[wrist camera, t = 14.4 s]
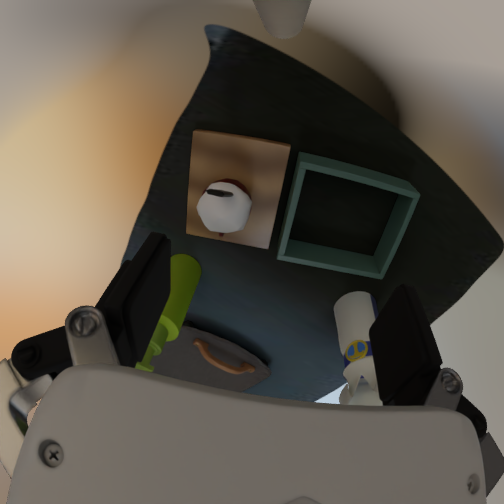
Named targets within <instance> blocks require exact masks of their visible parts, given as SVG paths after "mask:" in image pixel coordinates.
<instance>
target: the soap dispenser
mask: <svg viewBox="0 0 504 504" xmlns="http://www.w3.org/2000/svg"><path fill="white" fill-rule="evenodd" d="M201 272H202V271H201V267H200V264H199V263H198V262H197V261H196V260H195V259H194V258H193V257H191V256H189V255H186V254H176V255H174V256H172V257H171V291H170V296H169V299H168V301H167V303H166V305H165V308H164V310H163V312H162V315H161V317H160V319H159V322H158V324H157V326H156V329H155V331H154V333H153V336H152V338H151V341H150V343H149V345H148V348H147V350H146V353H145V355H144V358H143V360H142V362H141V363H140V362H137V364H136V366H135V369H139V370H143V371H148V372H152V371H153V370H154V367H153V366H151V365H149V364H150V362H151V359H152V357H153V355H155V356H156V355H159V354H161V352H162V350H163V347H164V344H165V342H166V341H172V340H175V339H176V338H177V337H178V334H179V332H180V329H181V326H182V324H183V321H184V318H185V315H186V313H187V310H188V308H189V305H190V302H191V300H192V297H193V294H194V292H195V289H196V287H197V284H198V281H199V279H200V276H201Z"/></svg>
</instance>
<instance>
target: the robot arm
mask: <svg viewBox="0 0 504 504" xmlns="http://www.w3.org/2000/svg"><path fill="white" fill-rule="evenodd" d="M170 291H171V241H170V239H167V236H166V235H165V234H161V233H156V232H151V233H150V235H149V236H148V238H147V239H146V240H145V242H144V243H143V245H142V246H141V248H140V249H139V251H138V252H137V253H136V255H135V256H134V258H133V259H132V261H130V260H127V261H125V262H124V263H123V265H122V266H121V268H120V269H119V271H118V272H117V273H116V275H115V277H114V278H113V280H112V281H111V283H110V284H109V286H108V287H107V289H106V290H105V292H104V293H103V295H102V296H101V298H100V300H99V301H98V303H97V304H96V306H95V307H93V306H80V307H78V308H75V309H74V310H72V311H71V312H70V313H69V314H68V316H67V318H66V320H65V326H62V327H59V328H56V329H53V330H51V331H48V332H45V333H42V334H39V335H36V336H33V337H30V338H27V339H24V340H22V341H20V342H19V343H18V344H17V345H16V346H15V347H14V349H13V351H12V355H11V358H10V359H9V360H7V359H6V358H5V359H3V360H2V361H1V362H0V462H1V463H2V465H3V467H4V469H5V470H6V472H7V473H8V475H9V476H10V478H11V484H10V488H9V493H8V497H7V503H6V504H486V497H487V496H488V495H489V493H490V492H491V490H492V489H493V488H494V486H495V485H496V483H497V482H498V481H499V479H500V478H501V476H502V475H503V473H504V457H503V456H502V453H501V452H500V450H499V448H498V446H497V445H496V443H495V441H494V440H493V438H492V436H491V435H490V433H489V432H488V433H486V430H487V422H486V419H485V417H484V415H483V414H482V413H481V412H480V411H479V410H478V409H477V408H476V407H475V406H474V405H473V404H472V403H471V402H470V401H469V400H467V399H466V398H465V397H464V396H463V395H462V390H463V383H462V380H461V378H460V376H459V375H458V374H457V372H455V371H454V370H453V369H450V368H443V369H441V368H440V365H441V364H442V363H443V362H442V359H441V356H440V353H439V350H438V347H437V344H436V342H435V338H434V336H433V333H432V330H431V327H430V324H429V322H428V319H427V316H426V314H425V311H424V309H423V306H422V304H421V301H420V299H419V296H418V294H417V292H416V289H415V288H414V287H413V286H409V285H404V284H401V285H400V286H399V287H396V288H395V290H394V292H393V293H392V295H391V296H390V298H389V300H388V301H387V303H386V304H385V306H384V308H383V309H382V311H381V312H380V314H379V315H378V317H377V318H376V320H375V321H374V323H373V324H372V326H371V327H370V329H369V339H370V344H371V350H372V355H373V361H374V367H375V373H376V379H377V385H378V392H379V398H380V400H381V401H382V404H383V406H367V405H344V404H329V403H316V402H306V401H296V400H288V399H280V398H273V397H266V396H259V395H253V394H247V393H241V392H236V391H230V390H225V389H220V388H215V387H210V386H206V385H201V384H197V383H192V382H188V381H184V380H179V379H175V378H171V377H167V376H163V375H160V374H156V373H152V372H148V371H143V370H139V369H135V366H136V364H137V362H140V363H141V362H142V360H143V358H144V355H145V353H146V350H147V348H148V345H149V343H150V341H151V338H152V336H153V333H154V331H155V329H156V326H157V324H158V322H159V319H160V317H161V315H162V312H163V310H164V308H165V305H166V303H167V301H168V299H169V296H170ZM127 366H128V367H127ZM41 398H42V399H41ZM40 399H41V401H40V403H39V405H38V407H37V409H36V411H35V413H34V416H33V418H32V421H31V423H30V425H29V427H28V424H27V416H28V413H29V411H30V410H31V409H32V408H33V407H35V406H36V405H37V403H36V402H37V401H38V400H40Z"/></svg>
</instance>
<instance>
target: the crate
mask: <svg viewBox="0 0 504 504" xmlns="http://www.w3.org/2000/svg"><path fill="white" fill-rule="evenodd" d="M306 169H308V170H312V171H316V172H321V173H325V174H329V175H333V176H337V177H341V178H345V179H349V180H353V181H356V182H360V183H364V184H367V185H371V186H375V187H378V188H382V189H385V190H388V191H392V192H395V193H398V197H397V199H396V202H395V204H394V207H393V210H392V212H391V215H390V217H389V220H388V222H387V225H386V227H385V230H384V232H383V234H382V237H381V239H380V241H379V244H378V246H377V248H376V251H375V253H374V255H373V256H369V255H365V254H360V253H355V252H351V251H346V250H341V249H336V248H331V247H326V246H322V245H317V244H312V243H307V242H302V241H297V240H292V239H288V238H289V234H290V230H291V227H292V223H293V219H294V215H295V211H296V207H297V203H298V199H299V195H300V191H301V187H302V183H303V179H304V175H305V171H306ZM419 197H420V193H419V192H418V191H417V190H416V189H415V188H414V187H413V186H412V185H411V184H410V183H409V182H408V181H405V180H402V179H399V178H396V177H393V176H390V175H386V174H383V173H380V172H377V171H373V170H370V169H366V168H363V167H359V166H356V165H352V164H348V163H345V162H341V161H337V160H333V159H329V158H325V157H321V156H317V155H312V154H308V153H304V152H299V153H298V158H297V162H296V167H295V171H294V175H293V180H292V184H291V188H290V193H289V197H288V201H287V206H286V210H285V214H284V218H283V222H282V227H281V231H280V235H279V239H278V248H277V259H278V260H283V261H288V262H293V263H299V264H304V265H309V266H314V267H320V268H325V269H330V270H335V271H341V272H346V273H351V274H356V275H362V276H367V277H372V278H377V279H383V277H384V275H385V273H386V271H387V269H388V267H389V265H390V263H391V261H392V259H393V256H394V254H395V252H396V250H397V248H398V246H399V244H400V242H401V239H402V237H403V235H404V233H405V230H406V228H407V226H408V223H409V221H410V219H411V216H412V214H413V212H414V209H415V207H416V204H417V202H418V199H419Z"/></svg>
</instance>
